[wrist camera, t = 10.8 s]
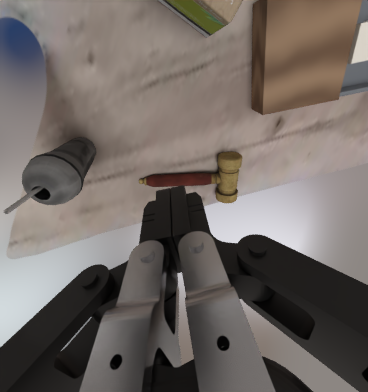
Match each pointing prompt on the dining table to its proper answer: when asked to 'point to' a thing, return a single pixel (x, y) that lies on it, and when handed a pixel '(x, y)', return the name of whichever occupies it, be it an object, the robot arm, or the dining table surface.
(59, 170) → the beverage cup
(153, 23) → the dining table surface
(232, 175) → the gavel
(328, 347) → the robot arm
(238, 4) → the tea box
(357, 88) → the tray
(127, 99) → the dining table surface
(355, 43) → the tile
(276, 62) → the matchbox style sliding box
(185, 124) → the dining table surface
